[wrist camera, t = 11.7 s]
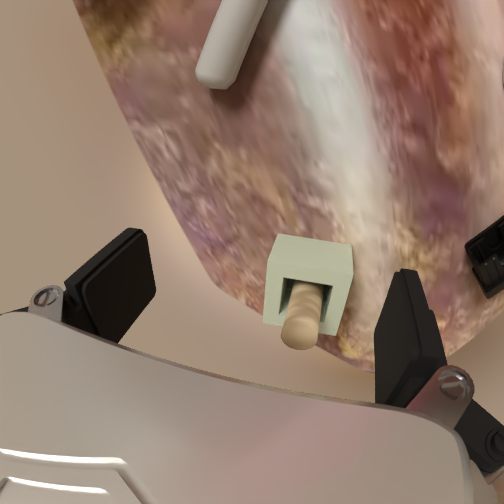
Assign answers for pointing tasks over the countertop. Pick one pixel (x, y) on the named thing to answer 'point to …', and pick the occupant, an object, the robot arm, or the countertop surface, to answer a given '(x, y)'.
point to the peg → (303, 315)
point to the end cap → (488, 258)
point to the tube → (228, 42)
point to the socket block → (308, 277)
